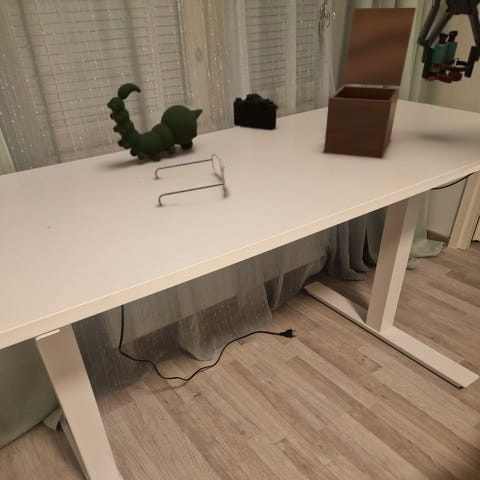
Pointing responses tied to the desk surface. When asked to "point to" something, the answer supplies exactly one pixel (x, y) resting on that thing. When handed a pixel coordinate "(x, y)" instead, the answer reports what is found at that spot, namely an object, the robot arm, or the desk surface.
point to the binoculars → (446, 60)
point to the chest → (360, 120)
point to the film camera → (255, 112)
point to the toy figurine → (161, 136)
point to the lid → (378, 46)
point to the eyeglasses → (194, 188)
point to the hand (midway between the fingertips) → (445, 77)
